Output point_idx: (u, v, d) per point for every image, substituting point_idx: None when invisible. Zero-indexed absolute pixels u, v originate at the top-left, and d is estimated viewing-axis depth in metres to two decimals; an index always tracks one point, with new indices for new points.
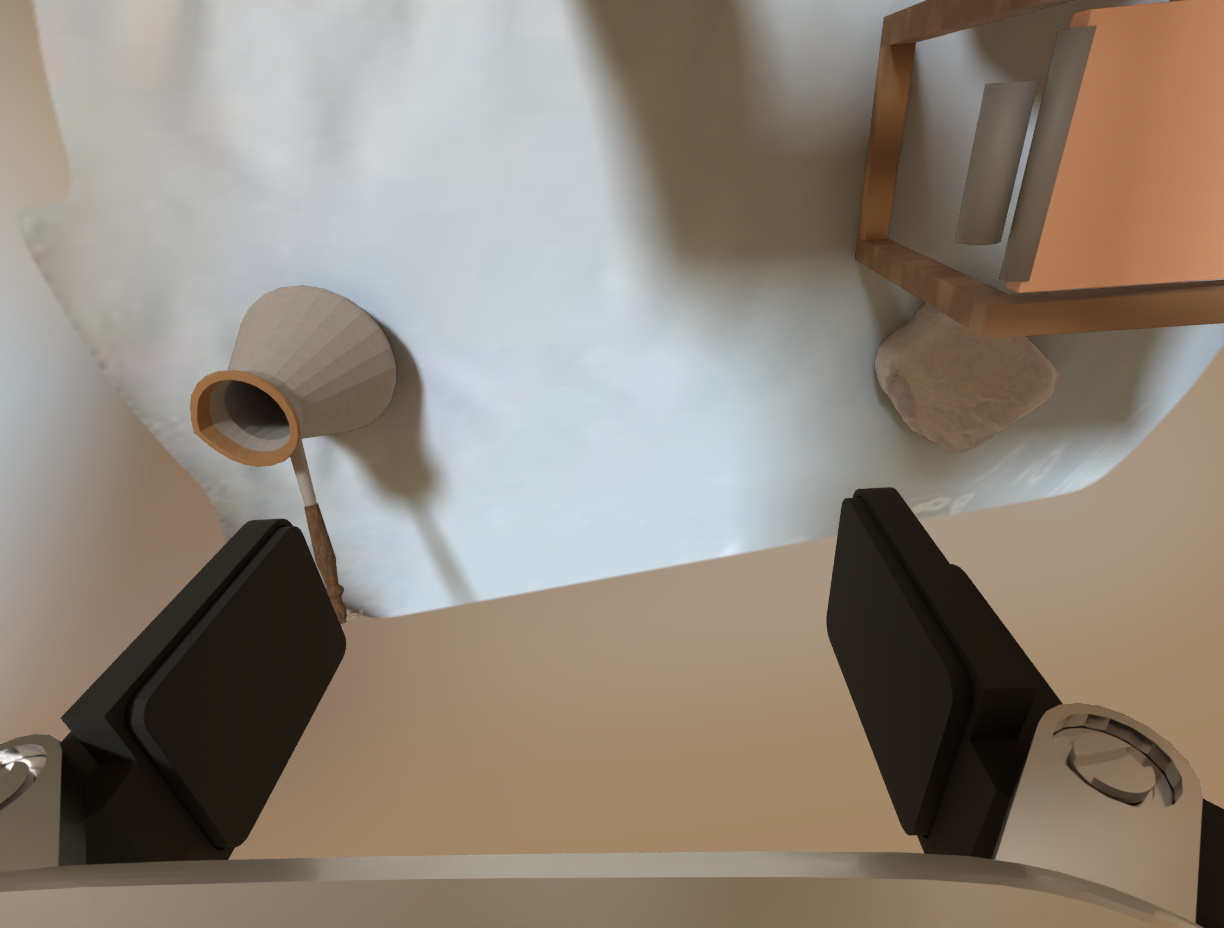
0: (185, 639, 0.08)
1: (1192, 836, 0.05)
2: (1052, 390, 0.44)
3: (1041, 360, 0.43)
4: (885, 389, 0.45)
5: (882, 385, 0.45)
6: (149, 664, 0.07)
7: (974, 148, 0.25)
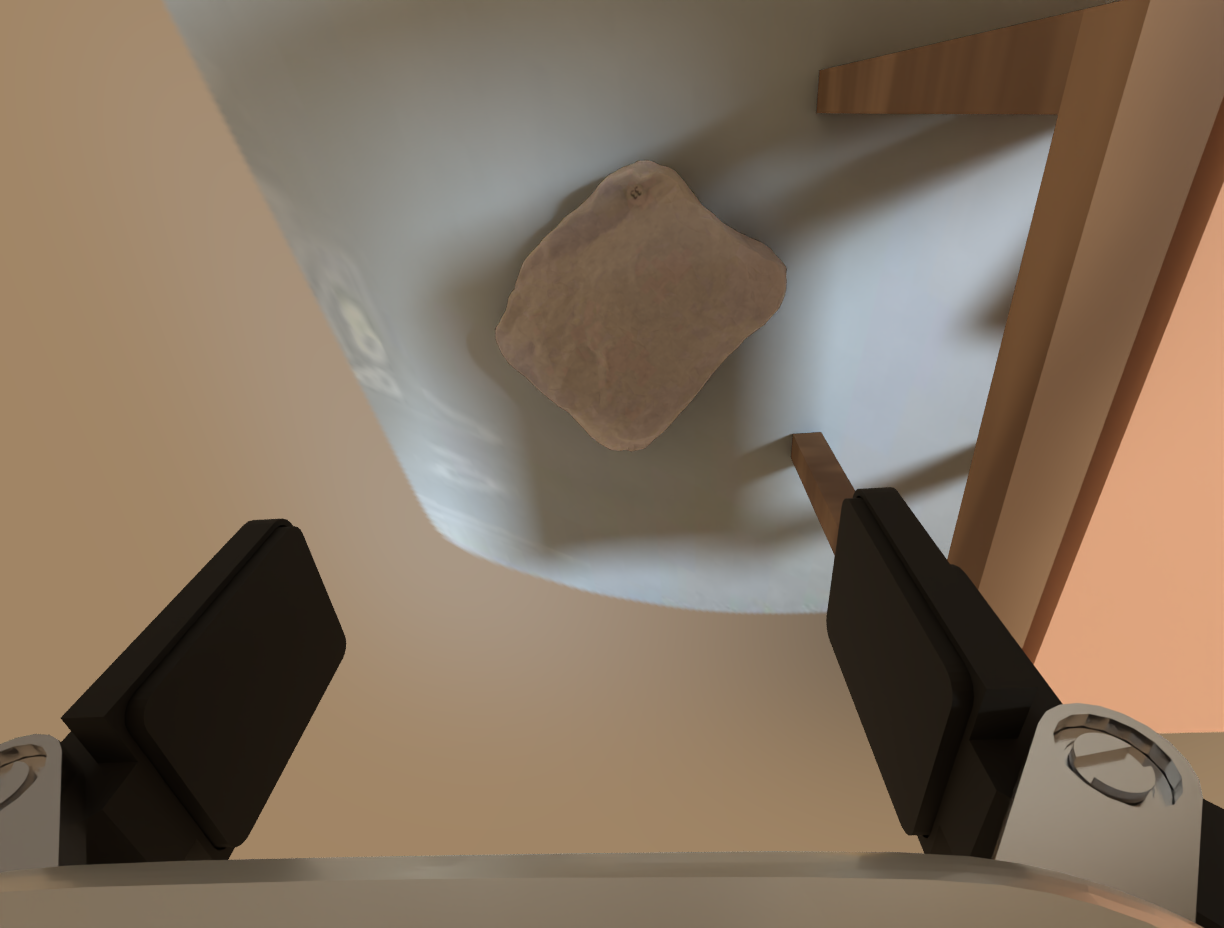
0: (185, 639, 0.08)
1: (1192, 836, 0.05)
2: (619, 446, 0.29)
3: (670, 416, 0.28)
4: (607, 180, 0.24)
5: (614, 174, 0.24)
6: (149, 665, 0.07)
7: None
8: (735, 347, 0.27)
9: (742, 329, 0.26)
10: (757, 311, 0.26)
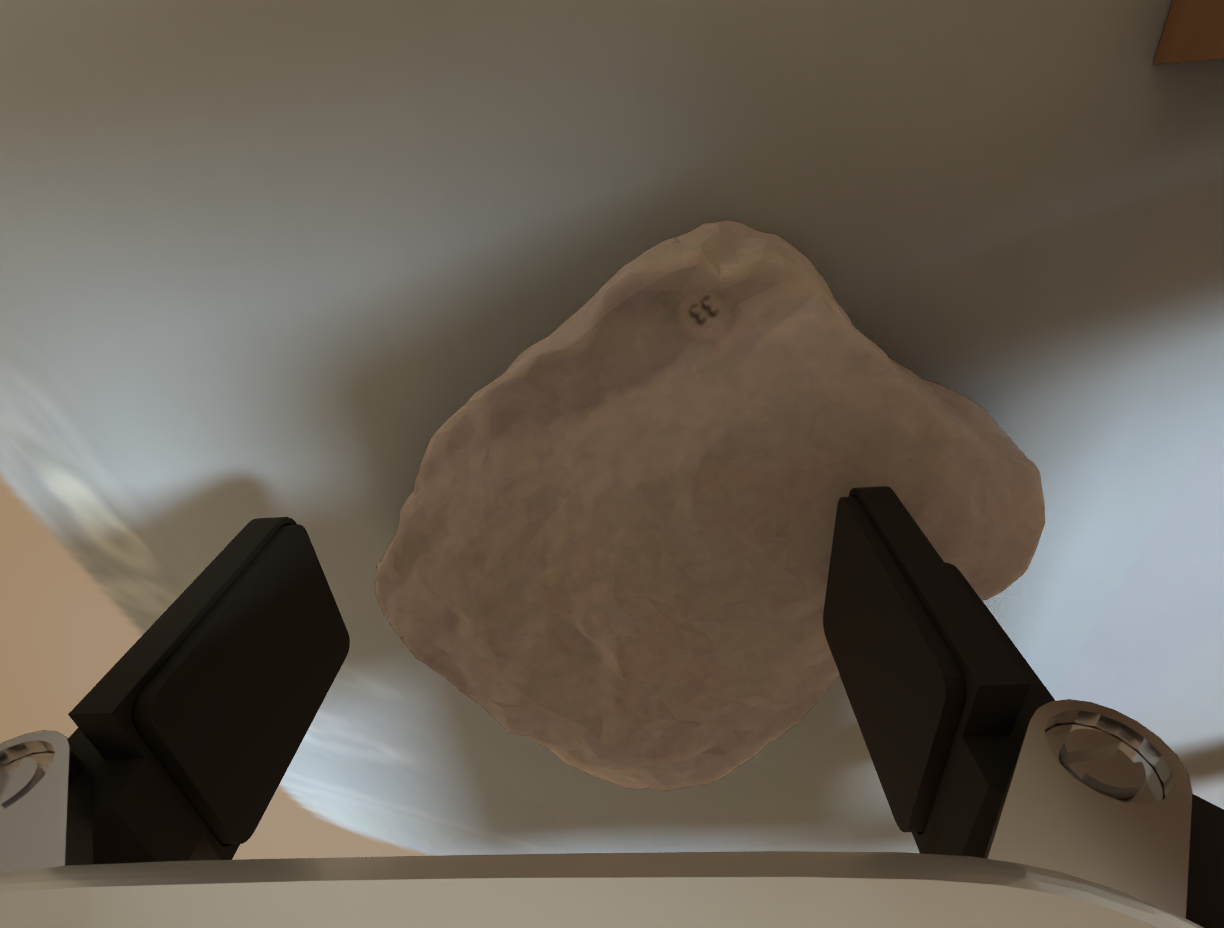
0: (191, 636, 0.08)
1: (1182, 830, 0.05)
2: None
3: (749, 752, 0.13)
4: (630, 279, 0.09)
5: (647, 262, 0.09)
6: (156, 661, 0.07)
7: None
8: None
9: None
10: (976, 576, 0.11)
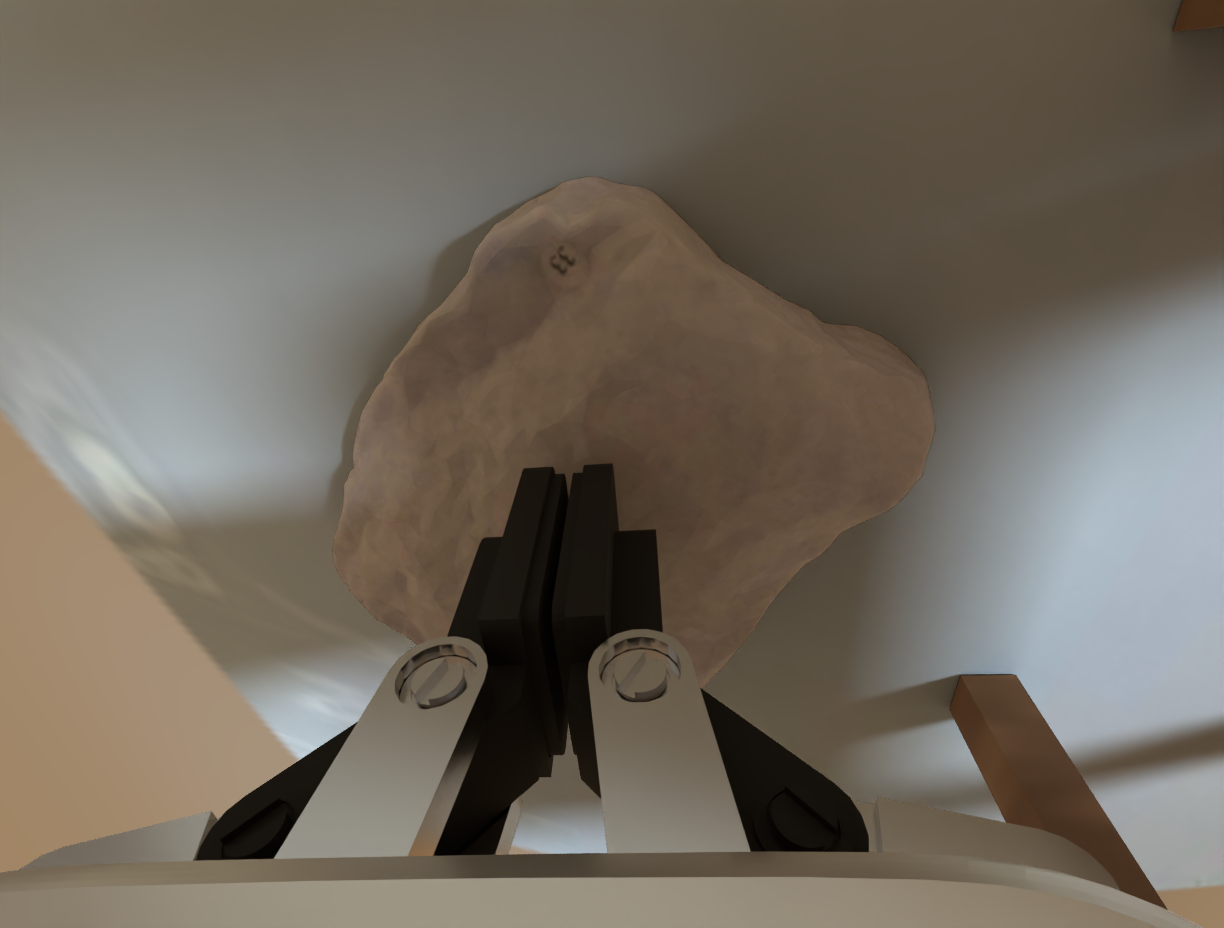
0: (537, 561, 0.08)
1: (696, 691, 0.07)
2: None
3: None
4: (490, 240, 0.10)
5: (504, 223, 0.10)
6: (526, 579, 0.08)
7: None
8: (822, 549, 0.13)
9: (837, 520, 0.12)
10: (872, 488, 0.11)
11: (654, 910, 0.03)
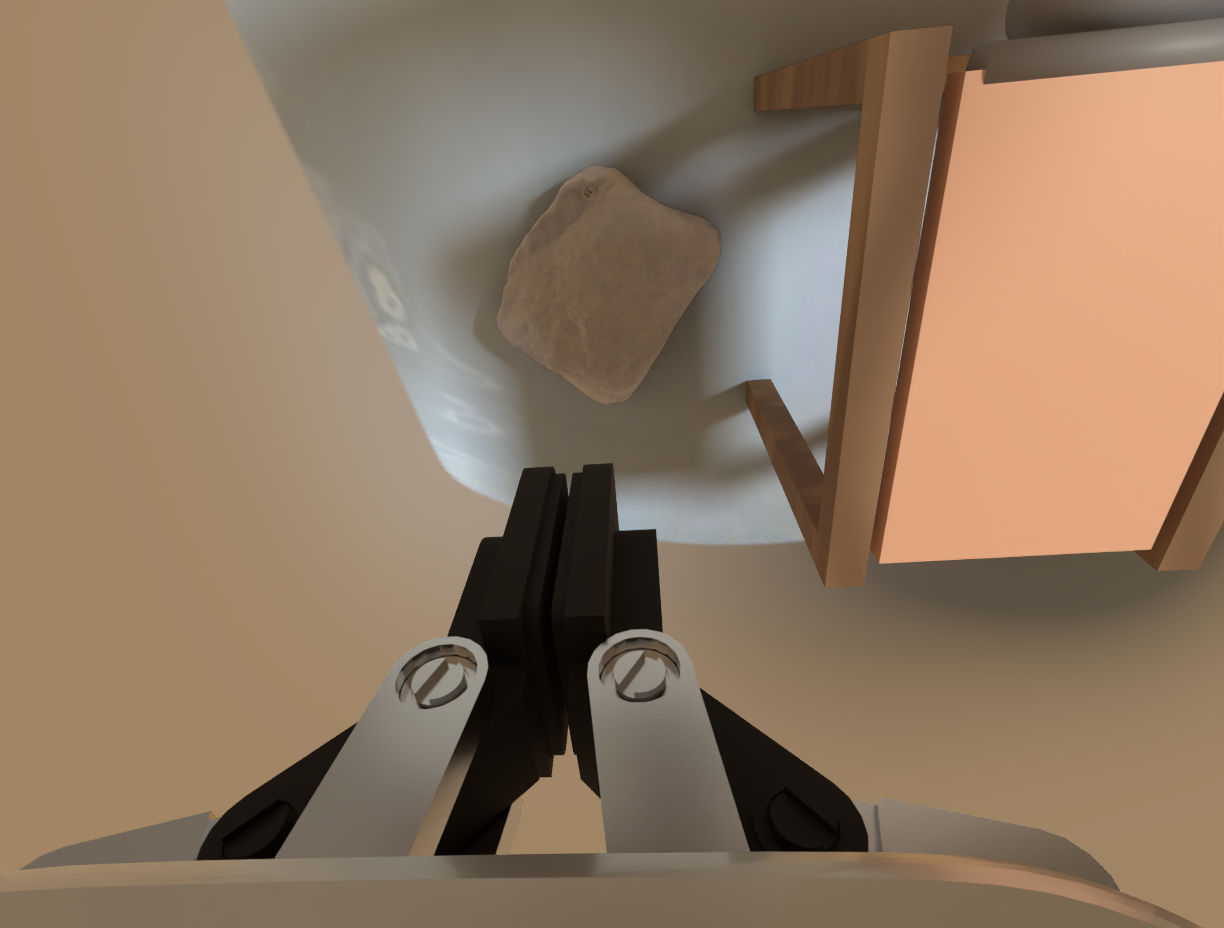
0: (537, 561, 0.08)
1: (696, 691, 0.06)
2: (608, 399, 0.36)
3: (644, 367, 0.35)
4: (564, 186, 0.31)
5: (569, 180, 0.31)
6: (526, 579, 0.08)
7: None
8: (688, 303, 0.33)
9: (690, 287, 0.33)
10: (699, 270, 0.32)
11: (654, 910, 0.03)
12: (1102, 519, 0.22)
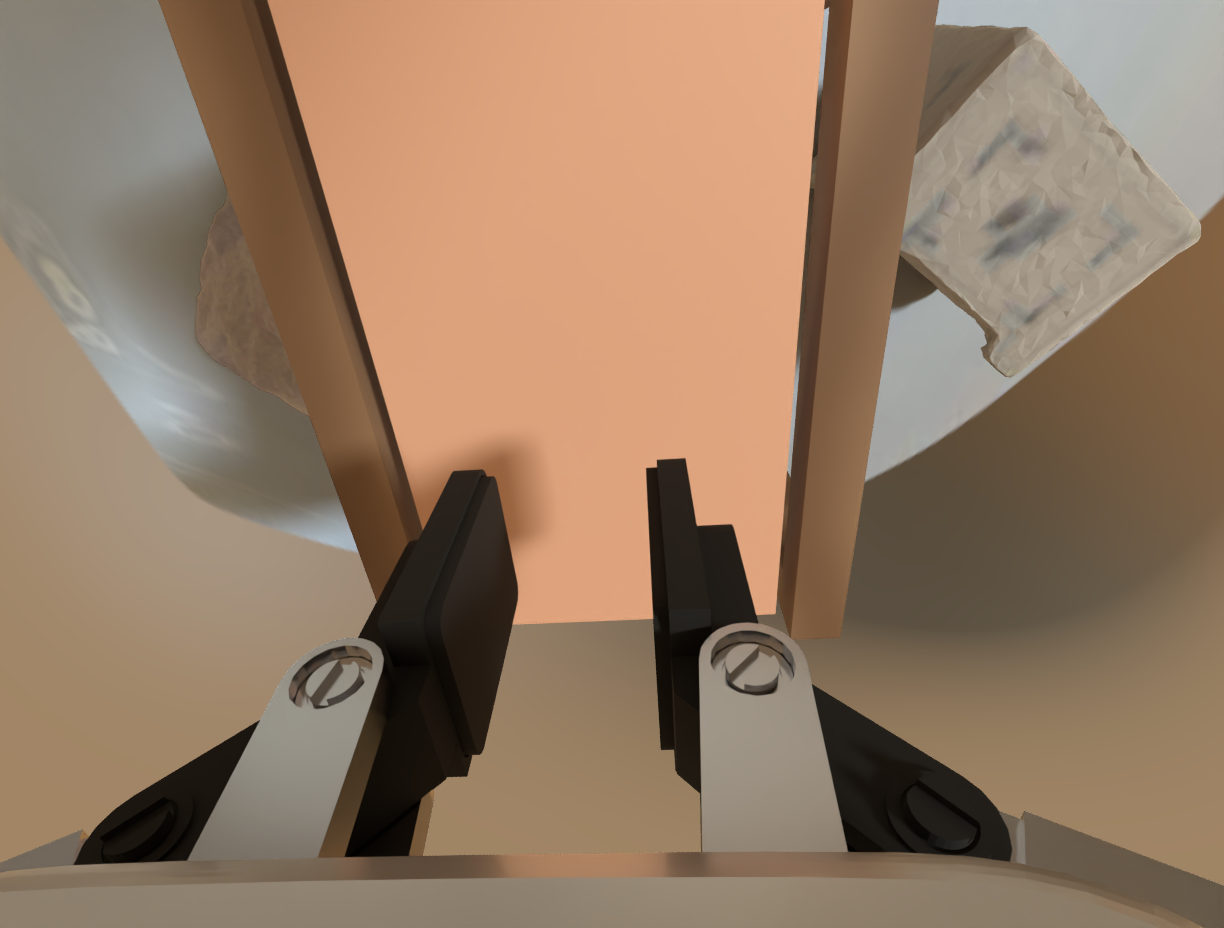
0: (448, 563, 0.09)
1: (809, 695, 0.06)
2: None
3: None
4: None
5: None
6: (432, 581, 0.08)
7: None
8: None
9: None
10: None
11: (654, 910, 0.03)
12: None
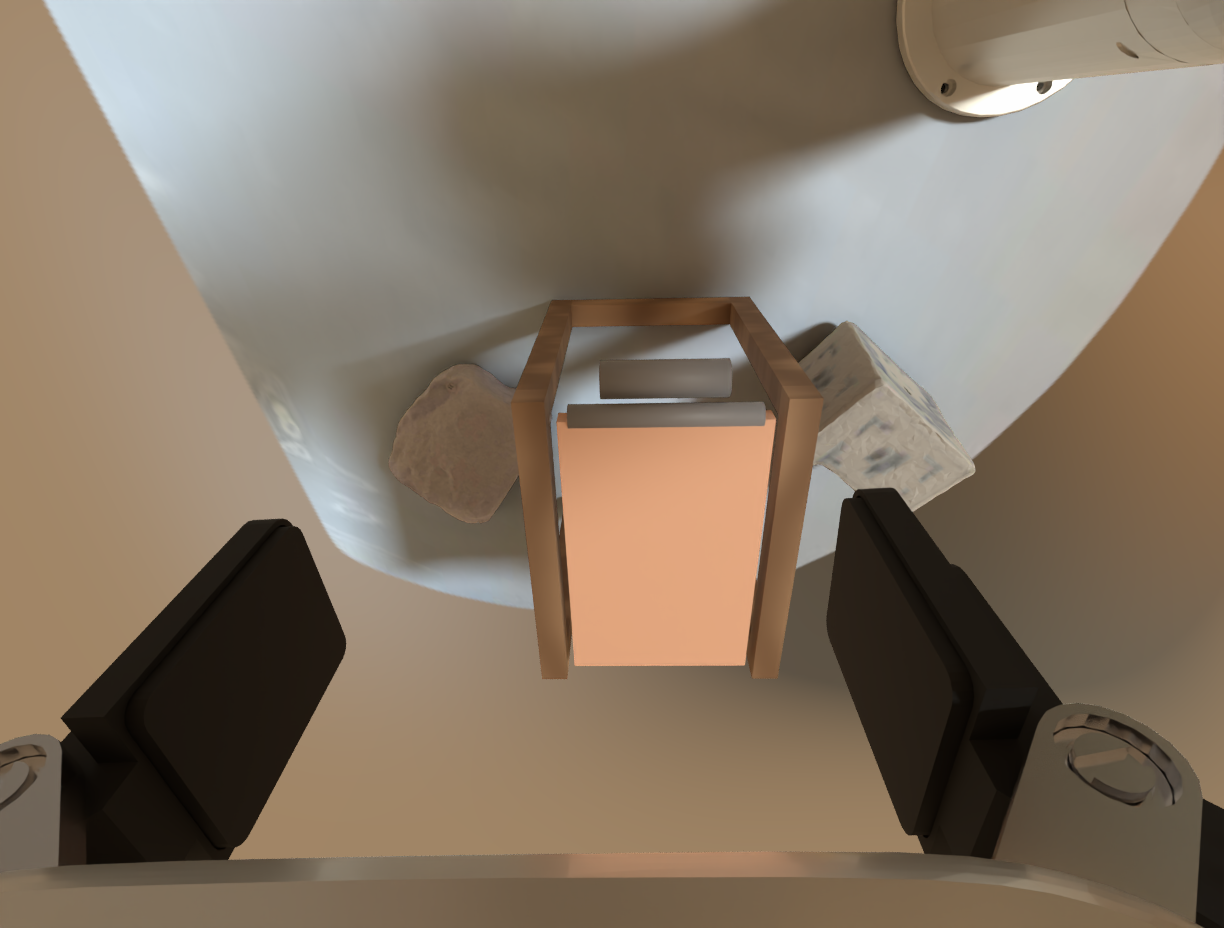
0: (185, 639, 0.08)
1: (1192, 836, 0.05)
2: (472, 521, 0.48)
3: (496, 502, 0.47)
4: (433, 381, 0.43)
5: (437, 377, 0.43)
6: (150, 665, 0.07)
7: (680, 359, 0.28)
8: None
9: None
10: None
11: (654, 910, 0.03)
12: (708, 646, 0.34)
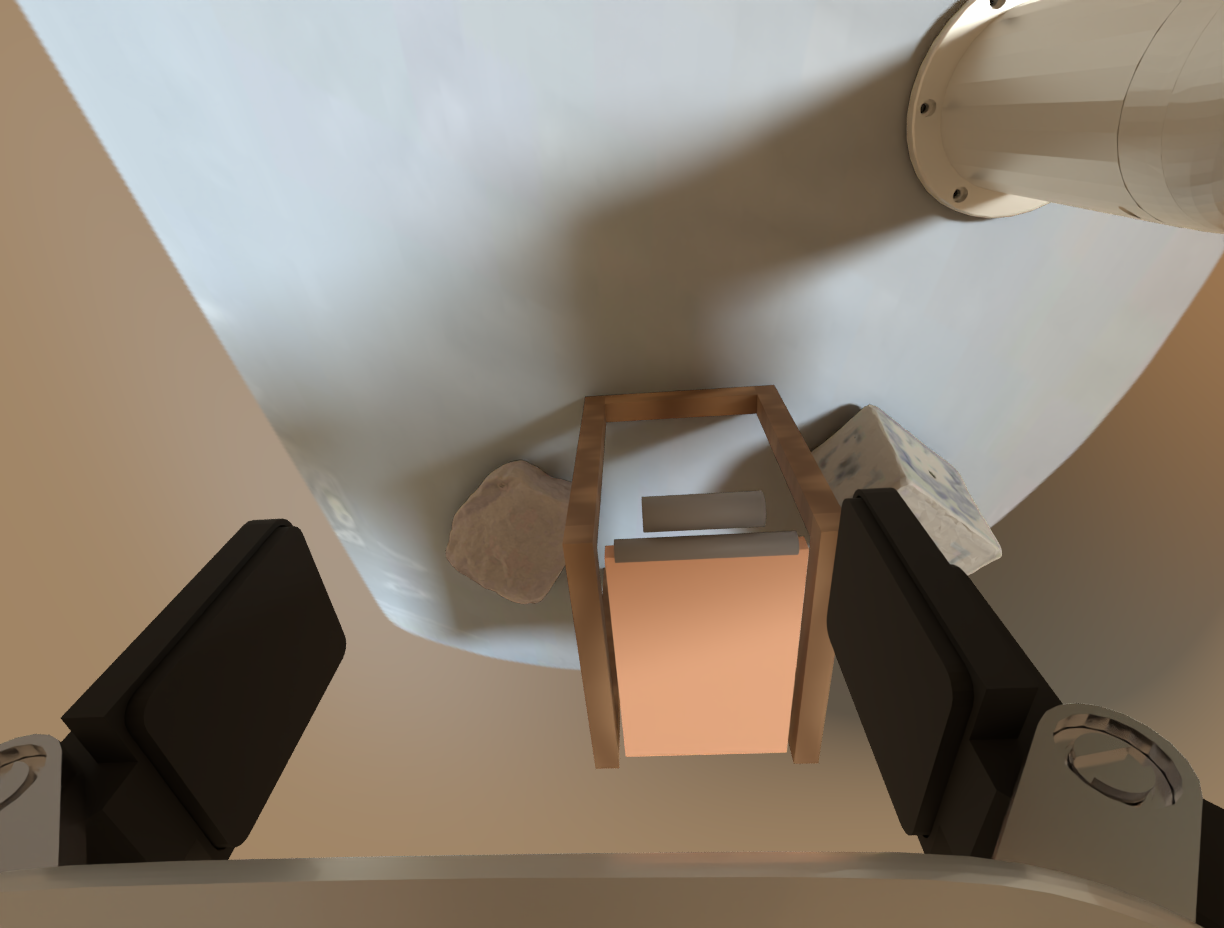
0: (185, 639, 0.08)
1: (1192, 836, 0.05)
2: (525, 602, 0.51)
3: (548, 585, 0.50)
4: (486, 482, 0.46)
5: (488, 478, 0.46)
6: (150, 665, 0.07)
7: (716, 495, 0.30)
8: None
9: None
10: None
11: (654, 910, 0.03)
12: (751, 737, 0.37)
